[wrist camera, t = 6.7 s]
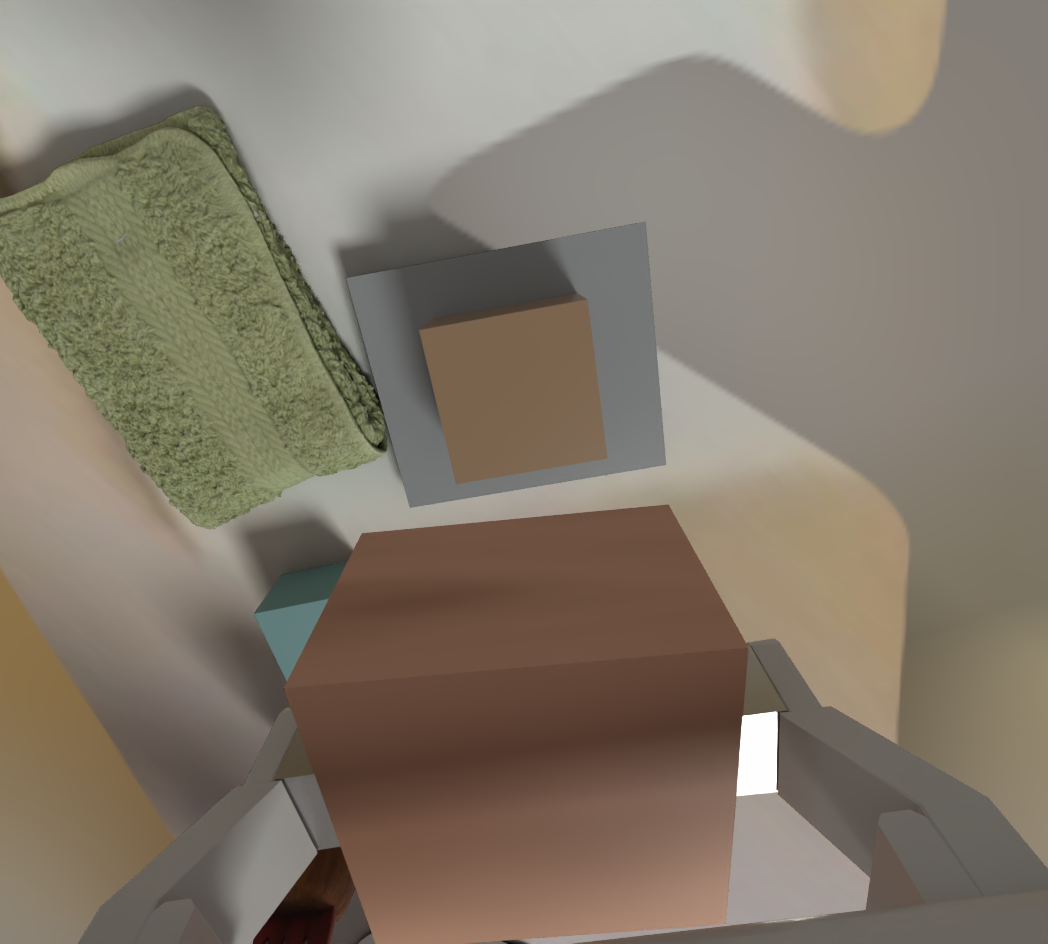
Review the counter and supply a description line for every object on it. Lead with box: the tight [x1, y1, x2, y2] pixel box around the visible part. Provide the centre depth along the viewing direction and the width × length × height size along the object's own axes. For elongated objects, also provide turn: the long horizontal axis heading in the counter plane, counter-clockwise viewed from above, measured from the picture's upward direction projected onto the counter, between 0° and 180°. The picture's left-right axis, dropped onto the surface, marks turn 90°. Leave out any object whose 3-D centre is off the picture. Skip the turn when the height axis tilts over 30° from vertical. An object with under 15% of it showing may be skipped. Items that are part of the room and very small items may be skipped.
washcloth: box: [0, 106, 387, 529], centre depth 27 cm, size 13×18×3 cm
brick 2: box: [284, 505, 749, 944], centre depth 10 cm, size 6×6×4 cm
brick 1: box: [254, 561, 348, 681], centre depth 32 cm, size 5×5×4 cm
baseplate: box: [346, 222, 666, 508], centre depth 26 cm, size 12×14×6 cm
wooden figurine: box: [253, 847, 355, 944], centre depth 31 cm, size 7×6×15 cm
